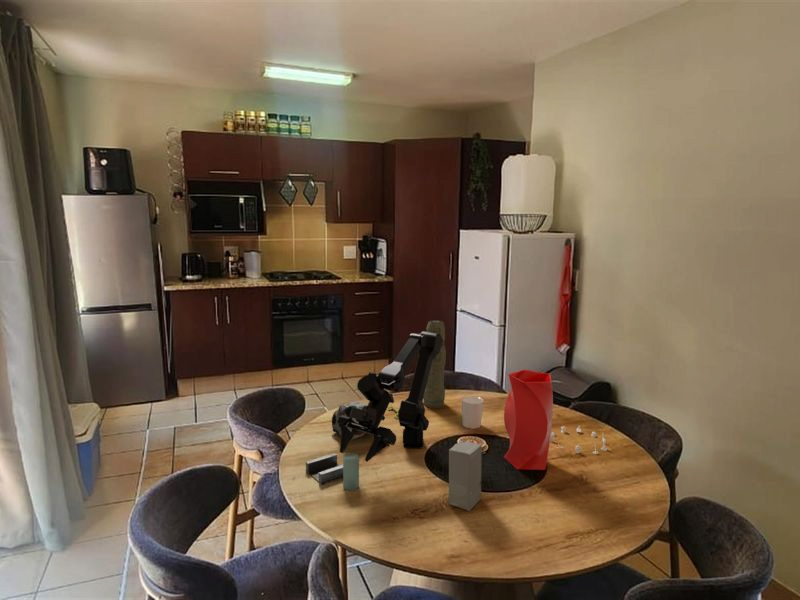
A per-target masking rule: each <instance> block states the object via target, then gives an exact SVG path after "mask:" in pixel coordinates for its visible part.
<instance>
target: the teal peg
mask: <svg viewBox="0 0 800 600" xmlns="http://www.w3.org/2000/svg"><path fill="white" fill-rule="evenodd" d="M342 465H343V478H342V481H343V483H342V486H343V489H344V490H347V491H355V490H357V489H358V488H359V487H360V456H359V455H358V453H355V452H349V453H345V454H344V455H343V456H342Z"/></svg>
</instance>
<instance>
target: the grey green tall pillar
mask: <svg viewBox="0 0 800 600" xmlns="http://www.w3.org/2000/svg"><path fill="white" fill-rule="evenodd" d="M425 329H426V332H432V333H438V334H440V335H441V337H442V338H443V344H442V346H441V349H440V352H439V353H438V354H437V356H436V357H435V358H434V359H433V361H432V365H431V369H430V373H429V377H428V381H427V385H426V389H425V393H424V397H423V404H424V407H426V408H430V409H440V408H442V407H444V406H445V398H446V397H445V395H446V389H445V385H444V384H445V365H446V364H447V363H446V362H447V361H446V360H447V359H446V358H447V350H446V346H445V341H446V327H445V323H444V321H442V320H439V319H438V320H437V319H432V320H430V321H428V322H427V325H426V328H425Z"/></svg>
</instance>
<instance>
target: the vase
mask: <svg viewBox="0 0 800 600" xmlns="http://www.w3.org/2000/svg"><path fill="white" fill-rule="evenodd" d="M507 376H508V379H509V382H510V387H511V389H510V391H509V393H508V395H507V398H506V402H505V405H504V410H503V423H504V428H505V430H506V434H507V435H508V439H509V448H508V451H507V452H506V453H505V454H504V456H503V459H505V460H506V461H507V462H508V463H509V464H511V465H512V466H513V467H514V468H515V469H516V470H530V471H531V470H532V471H533V470H535V471H536V470H538V471H539V470H540V471H545V470H546V468H547V463H548V455H549V449H550V442H551V441H550V436H551V433H552V425H553V411H554V397H553V396H554V394H553V384H552V383H553V382H552V375H551V373H546V372H542V371H534V370H529V369H520V370H519V371H515V372H511V373H508V375H507Z"/></svg>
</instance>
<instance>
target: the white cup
mask: <svg viewBox="0 0 800 600" xmlns="http://www.w3.org/2000/svg"><path fill="white" fill-rule="evenodd" d="M483 409H484V399H483V398H482V397H479V396H474V395H467V396H464V397H462V398H461V418H462V421H461V422H462V426H463V427H464V428H467V429H474V430H475V429H479V428H481V425H482V417H483Z"/></svg>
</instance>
